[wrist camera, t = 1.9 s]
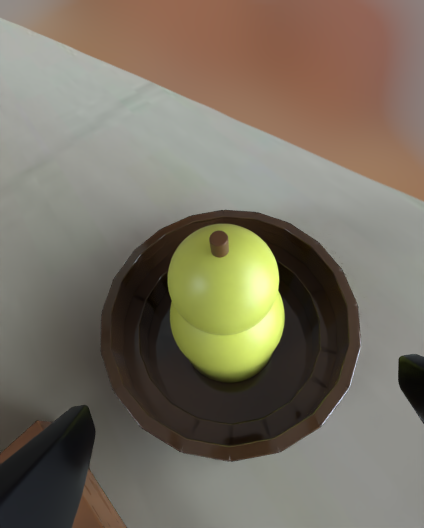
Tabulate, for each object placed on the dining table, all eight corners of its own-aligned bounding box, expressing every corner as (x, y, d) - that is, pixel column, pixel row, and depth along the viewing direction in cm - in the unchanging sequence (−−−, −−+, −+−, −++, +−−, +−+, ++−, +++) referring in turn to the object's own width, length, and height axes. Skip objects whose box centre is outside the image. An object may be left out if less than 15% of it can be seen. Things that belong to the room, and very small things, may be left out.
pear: (297, 331, 21) (350, 231, 11) (230, 408, 19) (220, 372, 9) (226, 273, 23) (217, 149, 13) (161, 335, 21) (93, 243, 11)
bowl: (376, 331, 21) (412, 303, 16) (234, 519, 16) (232, 547, 12) (225, 221, 26) (222, 178, 22) (89, 339, 22) (53, 314, 18)
